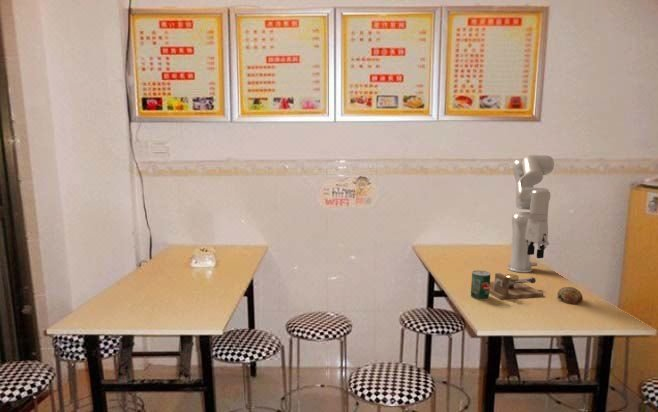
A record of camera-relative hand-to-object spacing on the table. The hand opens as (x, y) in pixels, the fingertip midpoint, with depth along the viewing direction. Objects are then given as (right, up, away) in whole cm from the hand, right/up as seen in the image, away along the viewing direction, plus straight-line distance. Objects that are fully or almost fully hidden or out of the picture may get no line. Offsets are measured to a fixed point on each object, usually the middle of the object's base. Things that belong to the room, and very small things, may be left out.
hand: (535, 255), depth 215 cm
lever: (-4, -15, +6) cm, 17 cm away
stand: (-10, -17, +5) cm, 20 cm away
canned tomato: (-27, -18, -4) cm, 32 cm away
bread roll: (+12, -19, -7) cm, 24 cm away
